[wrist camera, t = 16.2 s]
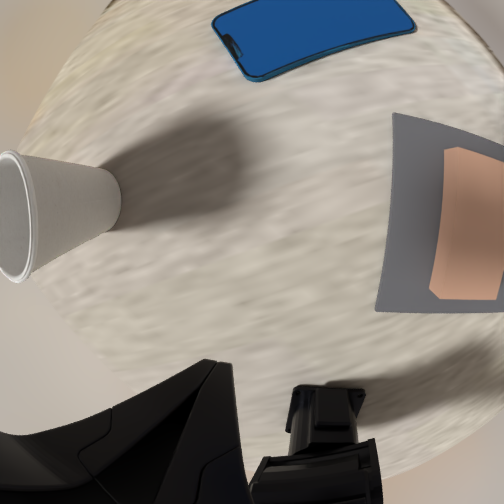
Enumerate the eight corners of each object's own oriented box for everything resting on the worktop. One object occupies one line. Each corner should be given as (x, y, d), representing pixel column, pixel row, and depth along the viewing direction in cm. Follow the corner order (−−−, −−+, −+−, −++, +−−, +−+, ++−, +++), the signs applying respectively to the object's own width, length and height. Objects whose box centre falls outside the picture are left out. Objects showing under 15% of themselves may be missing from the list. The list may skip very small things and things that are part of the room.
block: (427, 287, 17) (482, 289, 16) (439, 299, 15) (495, 299, 14) (443, 149, 14) (498, 166, 13) (457, 146, 12) (514, 166, 11)
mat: (501, 310, 16) (503, 312, 15) (374, 309, 18) (375, 311, 18) (522, 156, 12) (525, 155, 12) (392, 113, 15) (393, 112, 14)
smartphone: (420, 30, 12) (249, 84, 15) (416, 35, 13) (251, 89, 16) (367, -28, 11) (206, 20, 14) (365, -22, 12) (210, 25, 15)
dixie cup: (139, 247, 21) (45, 290, 11) (74, 248, 22) (-7, 278, 13) (132, 144, 19) (30, 132, 9) (67, 162, 20) (-19, 166, 11)
